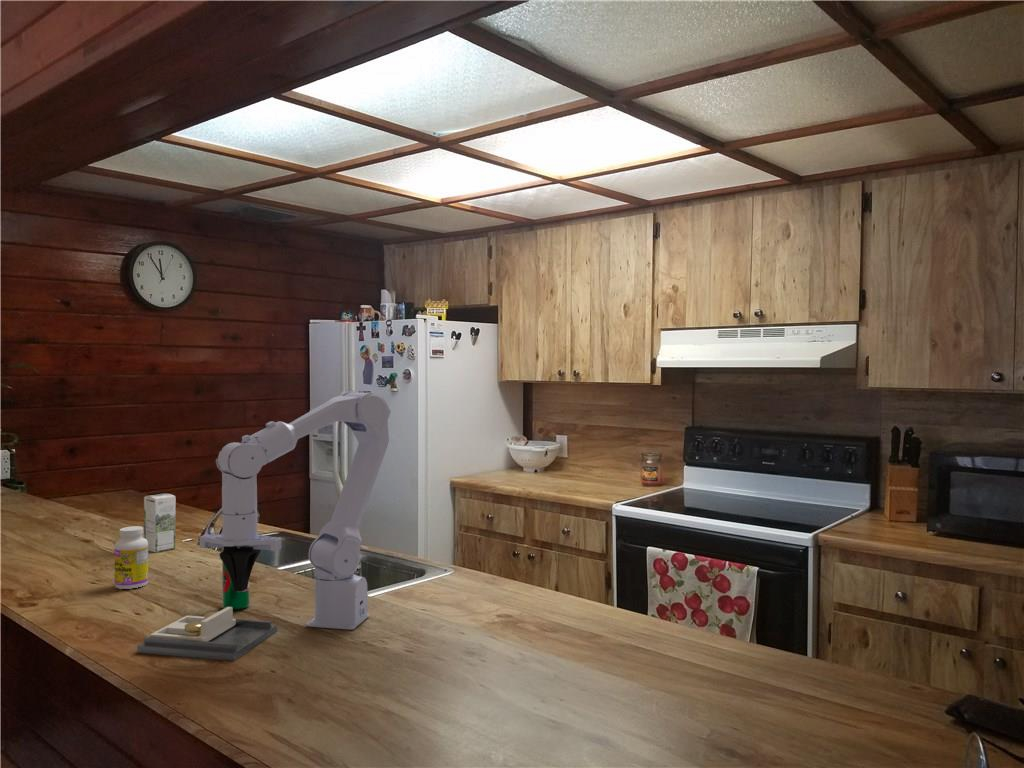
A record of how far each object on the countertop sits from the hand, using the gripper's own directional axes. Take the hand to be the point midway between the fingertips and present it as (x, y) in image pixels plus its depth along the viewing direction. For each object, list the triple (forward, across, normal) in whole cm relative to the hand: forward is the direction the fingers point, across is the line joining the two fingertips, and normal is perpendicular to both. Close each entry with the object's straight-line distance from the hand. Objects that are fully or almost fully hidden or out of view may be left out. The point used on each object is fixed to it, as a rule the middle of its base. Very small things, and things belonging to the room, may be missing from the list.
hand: (240, 589), depth 129 cm
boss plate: (+10, -6, 0) cm, 11 cm away
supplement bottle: (+10, -43, +27) cm, 52 cm away
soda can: (+10, -12, +18) cm, 24 cm away
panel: (+8, -9, 0) cm, 12 cm away
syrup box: (+10, -59, +58) cm, 83 cm away
